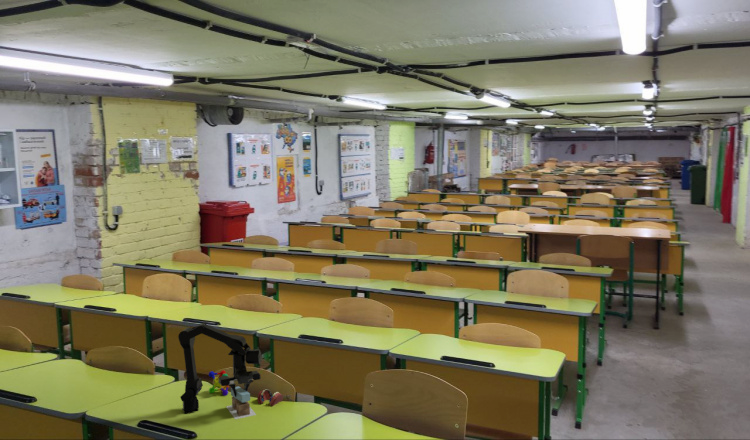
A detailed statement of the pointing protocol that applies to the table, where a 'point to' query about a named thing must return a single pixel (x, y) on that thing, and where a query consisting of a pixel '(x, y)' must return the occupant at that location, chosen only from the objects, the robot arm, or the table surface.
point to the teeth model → (267, 395)
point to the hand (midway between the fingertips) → (240, 395)
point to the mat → (237, 414)
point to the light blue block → (241, 394)
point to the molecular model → (217, 384)
